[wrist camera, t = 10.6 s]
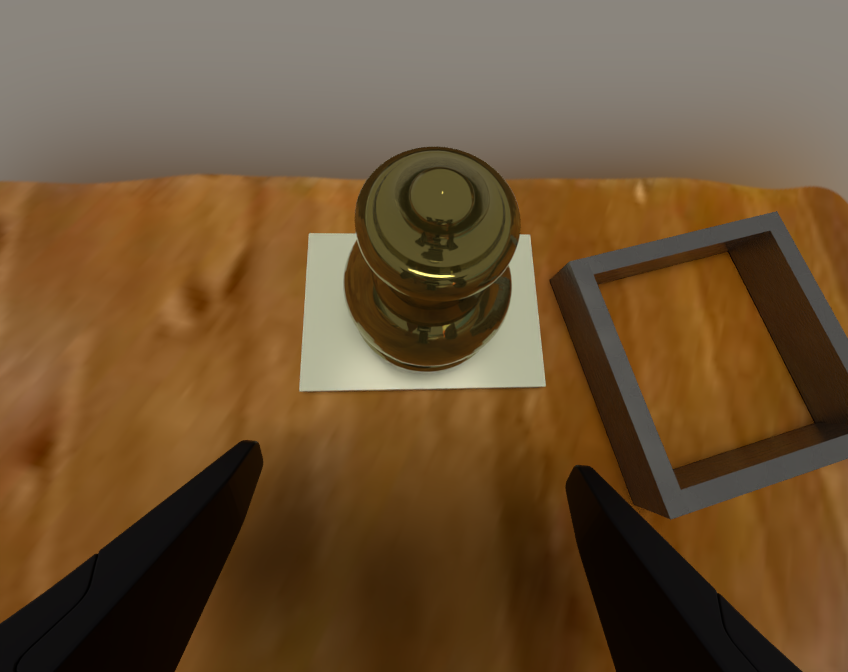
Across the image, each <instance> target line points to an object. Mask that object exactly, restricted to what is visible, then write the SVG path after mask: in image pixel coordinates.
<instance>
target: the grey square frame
mask: <svg viewBox="0 0 848 672" xmlns="http://www.w3.org/2000/svg"><path fill="white" fill-rule="evenodd" d="M728 251H729V253H730V255H731V257H732V259H733V261H734V263H735V265H736V267H737V269H738V271H739V273H740V275H741V277H742V279H743V281H744V283H745V285H746V287H747V289H748V291H749V293H750V295H751V297H752V298H753V300H754V302H755V304H756V306H757V308H758V310H759V312H760V314H761V316H762V318H763V320H764V322H765V324H766V326H767V328H768V330H769V332H770V334H771V336H772V338H773V340H774V342H775V344H776V346H777V348H778V350H779V352H780V354H781V356H782V358H783V360H784V362H785V364H786V366H787V368H788V370H789V371H790V373H791V375H792V377H793V379H794V381H795V383H796V385H797V387H798V389H799V391H800V393H801V395H802V397H803V399H804V401H805V403H806V405H807V407H808V409H809V411H810V413H811V415H812V417H813V419H814V421H815V423H814V424H811V425H808V426H805V427H802V428H799V429H796V430H793V431H790V432H787V433H784V434H781V435H777V436H774V437H771V438H768V439H765V440H762V441H759V442H756V443H753V444H750V445H747V446H744V447H741V448H738V449H735V450H732V451H728V452H725V453H722V454H719V455H716V456H713V457H710V458H707V459H704V460H701V461H698V462H695V463H692V464H689V465H686V466H683V467H679V468H676V469H672V467H671V464H670V462H669V460H668V457H667V455H666V452H665V450H664V447H663V445H662V442H661V440H660V437H659V435H658V432H657V430H656V428H655V425H654V423H653V420H652V418H651V415H650V413H649V410H648V408H647V405H646V403H645V400H644V398H643V396H642V393H641V391H640V388H639V386H638V383H637V381H636V378H635V376H634V373H633V371H632V368H631V366H630V364H629V361H628V359H627V356H626V354H625V351H624V349H623V346H622V344H621V341H620V339H619V336H618V334H617V332H616V329H615V327H614V324H613V322H612V319H611V317H610V314H609V312H608V309H607V307H606V305H605V302H604V300H603V297H602V295H601V292H600V290H599V287H598V285H597V284H601V283H605V282H609V281H613V280H617V279H621V278H625V277H629V276H633V275H637V274H641V273H645V272H649V271H653V270H657V269H661V268H665V267H669V266H673V265H677V264H680V263H684V262H688V261H692V260H696V259H700V258H704V257H708V256H712V255H716V254H720V253H724V252H728ZM550 282H551V285H552V288H553V290H554V293H555V296H556V298H557V301H558V304H559V306H560V309H561V312H562V314H563V317H564V319H565V322H566V325H567V327H568V330H569V333H570V335H571V338H572V341H573V343H574V346H575V349H576V351H577V354H578V357H579V359H580V362H581V365H582V367H583V370H584V373H585V375H586V378H587V381H588V383H589V386H590V389H591V391H592V394H593V397H594V399H595V402H596V405H597V407H598V410H599V413H600V415H601V418H602V421H603V423H604V426H605V429H606V431H607V434H608V437H609V439H610V442H611V445H612V447H613V450H614V453H615V455H616V458H617V461H618V463H619V466H620V469H621V471H622V474H623V477H624V479H625V482H626V485H627V487H628V490H629V493H630V495H631V498H632V501H633V503H634V505H636V506H639V507H641V508H644V509H646V510H649V511H651V512H654V513H656V514H659V515H661V516H664V517H666V518H669V519H673V518H676V517H679V516H682V515H685V514H688V513H691V512H694V511H697V510H699V509H702V508H705V507H708V506H711V505H714V504H717V503H720V502H723V501H726V500H729V499H731V498H734V497H737V496H740V495H743V494H746V493H749V492H752V491H755V490H758V489H760V488H763V487H766V486H769V485H772V484H775V483H778V482H781V481H784V480H787V479H790V478H792V477H795V476H798V475H801V474H804V473H807V472H810V471H813V470H816V469H819V468H821V467H824V466H827V465H830V464H833V463H836V462H839V461H842V460H845V459H848V338H847V337H846V335H845V333H844V331H843V329H842V328H841V326H840V324H839V322H838V320H837V319H836V317H835V315H834V313H833V311H832V310H831V308H830V306H829V304H828V302H827V301H826V299H825V297H824V295H823V293H822V292H821V290H820V288H819V286H818V284H817V283H816V281H815V279H814V277H813V275H812V274H811V272H810V270H809V268H808V266H807V265H806V263H805V261H804V259H803V257H802V256H801V254H800V252H799V250H798V248H797V247H796V245H795V243H794V241H793V239H792V238H791V236H790V234H789V232H788V230H787V229H786V227H785V225H784V223H783V221H782V220H781V218H780V216H779V214H778V212H777V211H776V212H772V213H768V214H764V215H760V216H756V217H752V218H748V219H743V220H739V221H735V222H731V223H727V224H723V225H719V226H715V227H710V228H706V229H702V230H698V231H694V232H690V233H686V234H682V235H677V236H673V237H669V238H665V239H661V240H657V241H653V242H649V243H645V244H640V245H636V246H632V247H628V248H624V249H620V250H616V251H612V252H607V253H603V254H599V255H595V256H591V257H587V258H583V259H579V260H574V261H570V262H568V263H567V264H566V265H565V266H564V267H563V268H562V269H561V270H560V271H559V272H558V273H557V274H556V275H555V276H553V277H552V278H551V279H550Z"/></svg>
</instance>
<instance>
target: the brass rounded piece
mask: <svg viewBox="0 0 848 672" xmlns="http://www.w3.org/2000/svg"><path fill="white" fill-rule="evenodd" d="M520 228H521V221H520V213H519V208H518V204H517V201H516V199H515V196H514V194H513V192H512V190H511V188H510V187H509V185H508V184H507V182H506V181H505V180H504V178H503V177H502V176H501V175H500V174H499V173H498V172H497V171H496V170H495V169H494V168H492V167H491V166H490V165H489V164H487V163H486V162H484V161H483V160H481V159H479V158H478V157H476V156H474V155H472V154H469V153H467V152H464V151H461V150H458V149H453V148H447V147H421V148H416V149H412V150H408V151H405V152H402V153H400V154H397V155H395V156H393V157H392V158H390V159H388V160H387V161H385V162H384V163H383V164H381V165H380V166H379V167H378V168H377V169H376V170H375V171H374V172H373V173H372V174H371V175H370V176H369V178H368V179H367V180H366V182H365V184H364V185H363V187H362V189H361V191H360V194H359V196H358V200H357V203H356V209H355V231H356V237H357V240H356V241H355V243H354V245H353V246H352V248H351V250H350V252H349V255H348V258H347V261H346V264H345V269H344V276H343V291H344V298H345V303H346V306H347V309H348V312H349V314H350V317H351V319H352V321H353V323H354V324H355V326H356V327H357V329H358V331H359V333H360V334H361V336H362V338H363V339H364V341H365V342H366V343H367V344H368V346H369V347H370V348H371V349H372V350H373V351H374V352H375V353H376V354H377V355H378V356H379V357H380V358H381V359H382V360H383V361H385V362H386V363H388V364H389V365H391V366H393V367H395V368H397V369H400V370H402V371H405V372H409V373H414V374H435V373H441V372H444V371H447V370H450V369H452V368H454V367H456V366H458V365H460V364H462V363H463V362H465V361H467V360H468V359H470V358H471V357H472V356H474V355H475V354H476V353H477V352H478V351H479V350H480V349H482V348H483V347H484V346H485V345H486V344H487V343H488V342H489V341H490V340H491V339H492V338H493V337H494V336H495V335H496V333H497V332H498V331H499V329H500V328H501V326H502V324H503V322H504V320H505V318H506V316H507V313H508V310H509V307H510V302H511V297H512V276H511V271H510V267H509V264H510V262H511V260H512V258H513V256H514V253H515V251H516V248H517V245H518V241H519V237H520Z"/></svg>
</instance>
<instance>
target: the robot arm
mask: <svg viewBox="0 0 848 672" xmlns="http://www.w3.org/2000/svg"><path fill="white" fill-rule="evenodd" d="M262 467H263V457H262V453H261V449H260V445H259V443H258V442H257V441H251V440H243V441H241V442H239V443H238V444H236V445H235V446H234V447H233V448H231V449H230V450H229V451H227V452H226V453H225V454H224V455H222V456H221V457H220V458H218V459H217V460H216V461H214V462H213V463H212V464H211V465H209V466H208V467H207V468H205V469H204V470H203V471H202V472H200V473H199V474H198V475H196V476H195V477H194V478H193V479H191V480H190V481H189V482H187V483H186V484H185V485H184V486H182V487H181V488H180V489H178V490H177V491H176V492H174V493H173V494H172V495H171V496H169V497H168V498H167V499H165V500H164V501H163V502H162V503H160V504H159V505H158V506H156V507H155V508H154V509H153V510H151V511H150V512H149V513H147V514H146V515H145V516H143V517H142V518H141V519H140V520H138V521H137V522H136V523H134V524H133V525H132V526H131V527H129V528H128V529H127V530H125V531H124V532H123V533H122V534H120V535H119V536H118V537H116V538H115V539H114V540H113V541H111V542H110V543H109V544H107V545H106V546H105V547H103V548H102V549H101V550H100V551H99V553H98V554H94V555H93V556H92V557H90V558H89V559H88V560H87V561H85V562H84V563H83V564H81V565H80V566H79V567H77V568H76V569H75V570H74V571H72V572H71V573H70V574H68V575H67V576H66V577H64V578H63V579H62V580H60V581H59V582H58V583H56V584H55V585H54V586H52V587H51V588H50V589H48V590H47V591H46V592H44V593H43V594H41V595H40V596H39V597H37V598H36V599H34V600H33V601H32V602H30V603H29V604H27V605H26V606H25V607H23V608H22V609H20V610H19V611H18V612H16V613H15V614H13V615H12V616H10V617H9V618H8V619H6V620H5V621H3V622H2V623H0V672H175V670H176V668H177V666H178V663H179V661H180V659H181V657H182V655H183V653H184V651H185V648H186V646H187V644H188V642H189V640H190V638H191V635H192V633H193V631H194V629H195V627H196V625H197V622H198V620H199V618H200V616H201V614H202V612H203V609H204V607H205V605H206V603H207V601H208V599H209V596H210V594H211V592H212V590H213V588H214V586H215V583H216V581H217V579H218V577H219V575H220V573H221V571H222V568H223V566H224V564H225V562H226V560H227V558H228V555H229V553H230V551H231V549H232V547H233V545H234V542H235V540H236V538H237V536H238V534H239V531H240V529H241V527H242V525H243V522H244V519H245V517H246V514H247V511H248V508H249V505H250V502H251V499H252V496H253V494H254V491H255V488H256V485H257V482H258V479H259V476H260V473H261V470H262ZM566 494H567V499H568V504H569V509H570V513H571V518H572V523H573V528H574V533H575V538H576V542H577V546H578V550H579V553H580V557H581V560H582V563H583V566H584V569H585V573H586V576H587V579H588V582H589V586H590V589H591V592H592V595H593V598H594V602H595V605H596V608H597V611H598V614H599V618H600V621H601V624H602V627H603V631H604V634H605V637H606V640H607V643H608V647H609V650H610V653H611V656H612V659H613V663H614V666H615V669H616V672H802V671H801V670H800V669H799V668H798V667H797V666H796V665H794V664H793V663H792V662H791V661H790V660H789V659H788V658H787V657H786V656H785V655H784V654H782V653H781V652H780V651H779V650H778V649H777V648H776V647H775V646H774V645H773V644H771V643H770V642H769V641H768V640H767V639H766V638H765V637H764V636H763V635H762V634H761V633H760V632H759V631H758V630H757V629H755V628H754V627H753V626H752V625H751V624H750V623H749V622H748V621H747V620H746V619H745V618H744V617H743V616H742V615H741V614H740V613H739V612H738V611H737V610H736V609H735V608H734V607H733V606H732V605H731V604H730V603H729V602H728V601H727V600H726V599H725V598H724V597H723V596H722V595H721V594H719V593H717V592H716V590H715V589H714V588H713V587H712V586H711V585H710V584H709V583H708V582H707V581H706V580H705V579H704V578H703V577H702V576H701V575H700V574H699V573H698V572H697V571H696V570H695V569H694V568H693V567H692V566H691V565H690V564H689V563H688V562H687V561H686V560H685V559H684V558H683V557H682V556H681V555H680V554H679V553H678V552H677V551H676V550H675V549H674V548H673V547H672V546H671V545H670V544H669V543H668V542H667V541H666V540H665V539H664V538H663V537H662V536H661V535H660V534H659V533H658V532H657V531H656V530H655V529H654V528H653V527H652V526H651V525H650V524H649V523H648V522H647V521H646V520H644V519H643V518H642V517H641V516H640V515H639V514H638V513H637V512H636V511H635V510H634V509H633V508H632V507H631V506H630V505H629V504H628V503H627V502H626V501H625V500H624V499H623V498H622V497H621V496H620V495H619V494H618V493H617V492H616V491H615V490H614V489H613V488H612V487H611V486H610V485H609V484H608V483H607V482H606V481H605V480H604V479H603V478H602V477H601V476H600V475H599V474H598V473H597V472H596V471H595V470H594V469H593V468H591V467H590V466H584V465H576V466H574V468H573V469H572V471H571V473H570V475H569V477H568V479H567V481H566Z"/></svg>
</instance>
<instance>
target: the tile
mask: <svg viewBox="0 0 848 672" xmlns="http://www.w3.org/2000/svg"><path fill="white" fill-rule="evenodd" d="M356 240H357V237H356V234H320V233H309V242H308V258H307V274H306V291H305V307H304V323H303V340H302V356H301V372H300V389H299V391H301V392H333V391H385V390H437V389H489V388H540V387H545V386H546V384H545V374H544V365H543V355H542V345H541V336H540V326H539V316H538V307H537V297H536V287H535V278H534V268H533V259H532V249H531V239H530V235H520V237H519V241H518V245H517V248H516V251H515V253H514V256H513V258H512V260H511V262H510V264H509V267H510V271H511V276H512V297H511V302H510V307H509V310H508V313H507V316H506V318H505V320H504V322H503V324H502V326H501V328H500V329H499V331H498V332H497V333H496V335H495V336H494V337H493V338H492V339H491V340H490V341H489V342H488V343H487V344H486V345H485V346H484V347H483V348H482V349H480V350H479V351H478V352H477V353H476V354H475V355H474V356H472V357H471V358H470V359H468V360H467V361H465V362H463V363H462V364H460V365H458V366H456V367H454V368H452V369H450V370H447V371H444V372H441V373H435V374H414V373H409V372H405V371H402V370H400V369H397V368H395V367H393V366H391V365H389V364H388V363H386V362H385V361H383V360H382V359H381V358H380V357H379V356H378V355H377V354H376V353H375V352H374V351H373V350H372V349H371V348H370V347H369V346H368V344H367V343H366V342H365V341H364V339H363V338H362V336H361V334H360V333H359V331H358V329H357V327H356V326H355V324H354V323H353V321H352V319H351V317H350V314H349V312H348V309H347V306H346V303H345V298H344V291H343V276H344V269H345V264H346V261H347V258H348V255H349V252H350V250H351V248H352V246H353V245H354V243H355V241H356Z"/></svg>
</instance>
